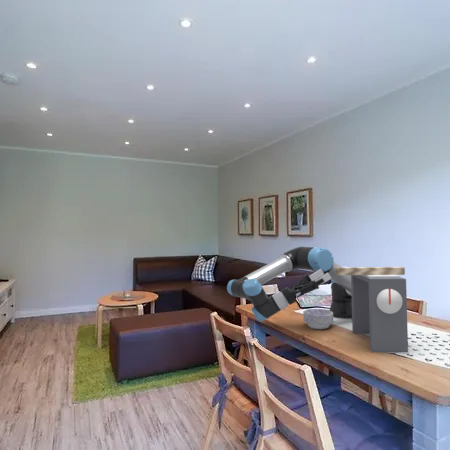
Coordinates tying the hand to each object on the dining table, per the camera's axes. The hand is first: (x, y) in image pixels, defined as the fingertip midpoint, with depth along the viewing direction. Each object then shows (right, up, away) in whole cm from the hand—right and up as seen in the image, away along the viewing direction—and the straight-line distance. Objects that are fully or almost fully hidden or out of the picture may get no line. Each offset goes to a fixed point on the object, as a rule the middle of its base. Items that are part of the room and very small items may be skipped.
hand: (326, 273), depth 149 cm
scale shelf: (+24, -31, +3) cm, 40 cm away
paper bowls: (+4, -32, +27) cm, 42 cm away
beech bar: (+18, 0, -3) cm, 18 cm away
